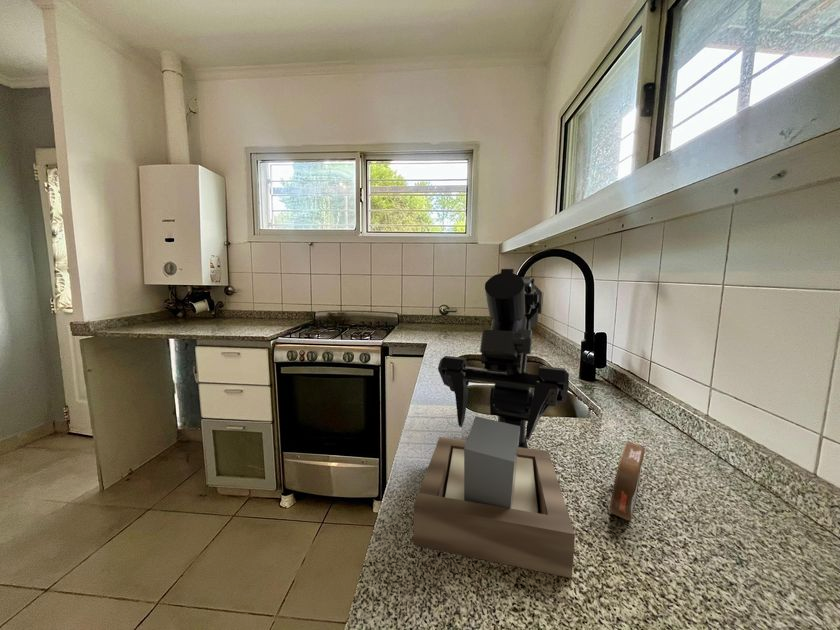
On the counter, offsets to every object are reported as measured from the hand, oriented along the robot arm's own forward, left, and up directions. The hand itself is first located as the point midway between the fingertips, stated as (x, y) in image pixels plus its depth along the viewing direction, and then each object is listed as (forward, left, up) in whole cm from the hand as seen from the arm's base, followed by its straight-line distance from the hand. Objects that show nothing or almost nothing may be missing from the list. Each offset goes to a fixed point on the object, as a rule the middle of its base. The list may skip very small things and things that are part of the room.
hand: (492, 432), depth 44 cm
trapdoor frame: (-3, 0, -13) cm, 14 cm away
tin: (-10, +21, -14) cm, 27 cm away
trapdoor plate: (-3, 0, -11) cm, 12 cm away
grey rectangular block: (-1, 0, -11) cm, 11 cm away
